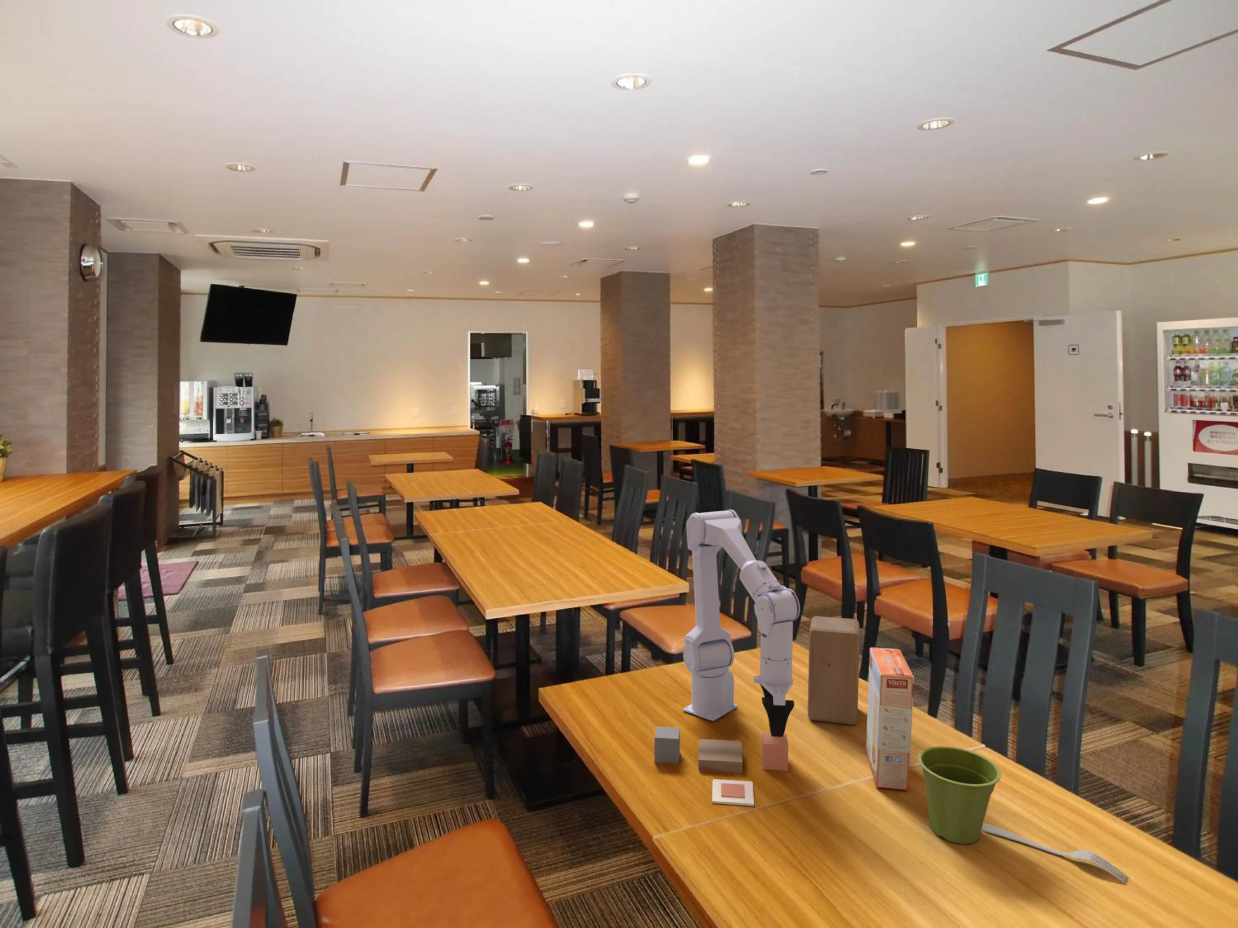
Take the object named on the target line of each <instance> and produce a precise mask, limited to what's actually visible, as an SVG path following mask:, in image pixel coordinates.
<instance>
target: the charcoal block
mask: <svg viewBox="0 0 1238 928" xmlns="http://www.w3.org/2000/svg"><path fill="white" fill-rule="evenodd" d="M653 744H654V746H653V747H654V763H657V764H659V763H660V764H670V765H671V764H672V765H674V764H675V765H676V764H677V765H679V763H680V756H681V755H680V754H681V727H675V726H674V727H673V726H672V727H671V726H656V727H655V733H654V743H653Z"/></svg>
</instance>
